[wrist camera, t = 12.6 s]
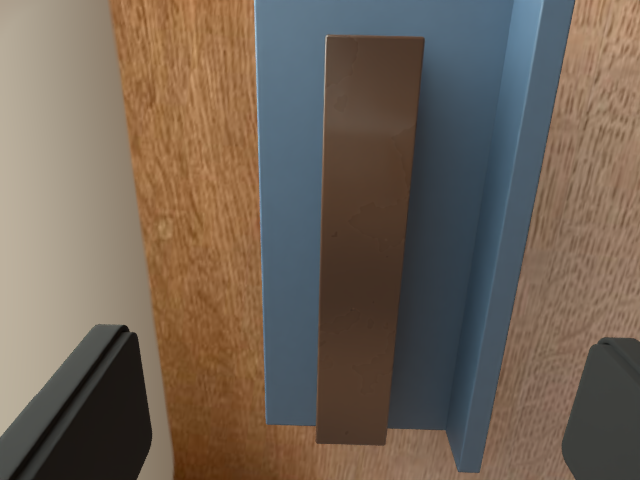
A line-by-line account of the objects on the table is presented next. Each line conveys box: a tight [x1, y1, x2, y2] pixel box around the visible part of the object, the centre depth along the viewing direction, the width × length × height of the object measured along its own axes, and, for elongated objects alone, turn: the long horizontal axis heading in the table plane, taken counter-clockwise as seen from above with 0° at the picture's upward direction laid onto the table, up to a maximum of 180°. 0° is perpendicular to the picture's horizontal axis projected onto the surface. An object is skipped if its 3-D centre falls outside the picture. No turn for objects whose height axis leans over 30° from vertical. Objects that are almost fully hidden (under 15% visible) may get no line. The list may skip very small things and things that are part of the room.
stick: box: [316, 34, 425, 446], centre depth 18 cm, size 16×3×3 cm, turn 179°
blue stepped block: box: [254, 0, 575, 473], centre depth 23 cm, size 10×20×12 cm, turn 179°
